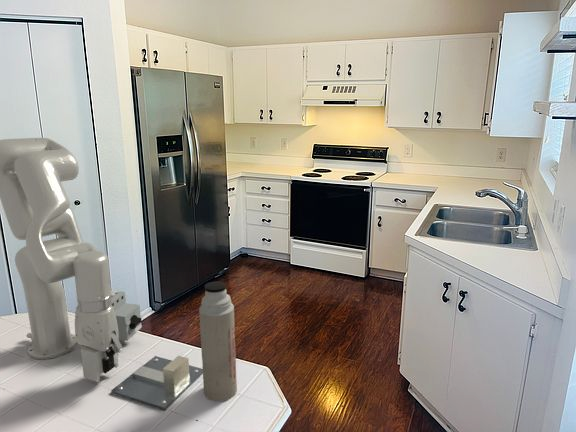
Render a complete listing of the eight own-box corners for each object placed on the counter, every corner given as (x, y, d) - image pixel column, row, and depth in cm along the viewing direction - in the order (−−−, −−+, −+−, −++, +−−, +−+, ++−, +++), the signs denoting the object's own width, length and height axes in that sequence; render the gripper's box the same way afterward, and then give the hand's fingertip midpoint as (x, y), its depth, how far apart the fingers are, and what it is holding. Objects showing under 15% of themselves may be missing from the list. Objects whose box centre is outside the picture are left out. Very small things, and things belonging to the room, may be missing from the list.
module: (83, 376, 105) (80, 345, 102) (105, 361, 111) (102, 331, 109) (97, 382, 103) (94, 349, 101) (118, 366, 110) (116, 335, 107)
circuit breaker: (134, 353, 119) (129, 304, 116) (89, 347, 122) (83, 300, 118) (147, 339, 126) (143, 293, 123) (105, 334, 129) (100, 289, 125)
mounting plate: (111, 393, 102) (108, 368, 101) (155, 358, 117) (153, 336, 115) (164, 410, 96) (162, 384, 95) (204, 371, 111) (203, 348, 109)
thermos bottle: (242, 384, 106) (239, 280, 99) (227, 405, 98) (222, 294, 91) (214, 378, 108) (209, 276, 101) (197, 397, 101) (190, 289, 94)
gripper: (56, 301, 102) (64, 366, 107) (109, 317, 96) (115, 385, 100) (81, 289, 108) (88, 351, 113) (133, 303, 102) (137, 368, 107)
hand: (101, 366), depth 107 cm, fingers closed on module, 4 cm apart
